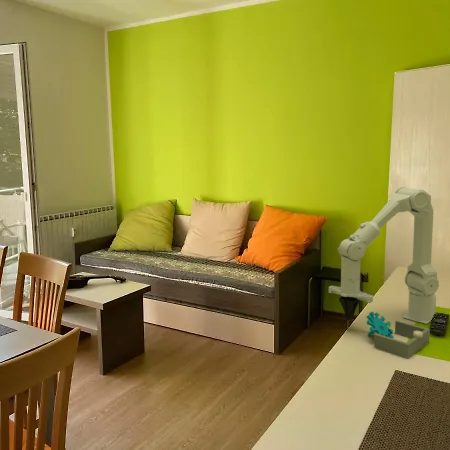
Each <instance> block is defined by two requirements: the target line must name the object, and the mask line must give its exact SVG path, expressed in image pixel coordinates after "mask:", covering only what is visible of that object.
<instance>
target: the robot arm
mask: <svg viewBox="0 0 450 450" xmlns="http://www.w3.org/2000/svg"><path fill="white" fill-rule="evenodd" d="M431 201H432V195H431V194H429V192H427V191H426V190H424V189H416V188H409V187H404V186H402V187H397V189H396V190H395V192H394V193H392V194H391V195H390V198H389V200H388V201H387V202H386V204H384V206H383V207H382V209H381V210H380V211H378V213H377V214H376V215H375V216H374V218H372V220H371V221H365V222H364V223H363V222H362V223H360V225H359V228H358V229H357V230H356V231H355V232H353V233H352V234H350V236H349V237H348V238H346V239H343V240H342V241H341V242H340V244H339V247H337V252H338V254H339V255H340V260H341V264H340V268H341V269H340V286H336V285H330V286H328V293H329V294H336V295H338V296H339V295H340V296H339V298H338V302H339V303H340V305H341V307H342V309H343V313H344V316H345V320H347V321H351V320H354V315H355V313H356V310H357V307H358V305H359V303H360V302H361V301H364V302H366V303H367V304H370V303H374V295H372V294H369V293H367V292H364V291H361V287H360V286H361V263H362V262H361V261H362V258H363V257H364V256H365V254H366V250H367V248H368V247H369V246H370V245H371V244H372V243H373V242H374V241H375V240H376V238H378V236H379V235H380V229H381V228H383V226H385V225H386V224H387V223H388V222H390V220H391V219H392V218H394V217H395V216H396V215H398V213H405V212H409V213H410V214H411V215H412V216H413V217H414V220H413V223H414V224H413V242H412V243H413V244H412V263H411V264H409V265H408V266H407V270H406V273H405V276H404V283H405V285H406V286H407V289H408V302H407V303H408V305H407V306H408V307H407V313H405V314H404V315H403V316H402V318H403V319H405V320H406V319H407V320H410V321H414V322H418V323H421V324H425V325H428V324H429V323H430V322H432V321H433V320H432V317H433V315H434V314H436V306H437V305H436V304H437V295H436V293H437V291H438V290H439V287H440V283H439V279H438V272H437V271H436V269H435V268H434V266H433V265H432V251H433V250H432V249H433V248H432V247H433V232H434V231H433V227H434V207H433V206H432V202H431ZM431 320H432V321H431Z"/></svg>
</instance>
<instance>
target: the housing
mask: <svg viewBox="0 0 450 450" xmlns="http://www.w3.org/2000/svg"><path fill="white" fill-rule="evenodd" d="M394 323H395V324H394V325H395V326H394V328H395V329H394V334H395V335H399V336H403V337H406V338H408V339H410V340H408V341H407V342H406V341H403V340H398V339H395V338H390V337H386V336H383V335H380V334H376V333H374V334H373V336H374V337H373V340H374V341H373V349H379V350H381V351H383V352H387V353H389V354H392V355H396V356H398V357H402V358H405V359H409V358H411V357H412V356H413V355H415V354H416V353H417V352H419V351H420V350H422V348H423V347H425V346H426V345H427V344H429V343H430V335H431V334H430V331H431V330H430V328H426V327H423V326H419V325H415V324H412V323H408V322H405V321H401V320H397V319H396V320H395V321H394Z"/></svg>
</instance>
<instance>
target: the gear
mask: <svg viewBox="0 0 450 450" xmlns="http://www.w3.org/2000/svg"><path fill="white" fill-rule="evenodd" d="M366 319H368V320H366V325H369V326H370V327H368V328H369V332H368V333H367V336H368V337H371V336H372V335H374V334H380V335H383V336H386V337H390V338H393V339H395V336H394V335H393V334H394V330H393V329H392V328H390V327H391V324H392V321H391V320H388V321H387V322H385V320H386V318H385V317H384V316H381V317H380V313H379V312H377V311H376V312H373V311H371V312H369V314H367V315H366Z"/></svg>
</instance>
